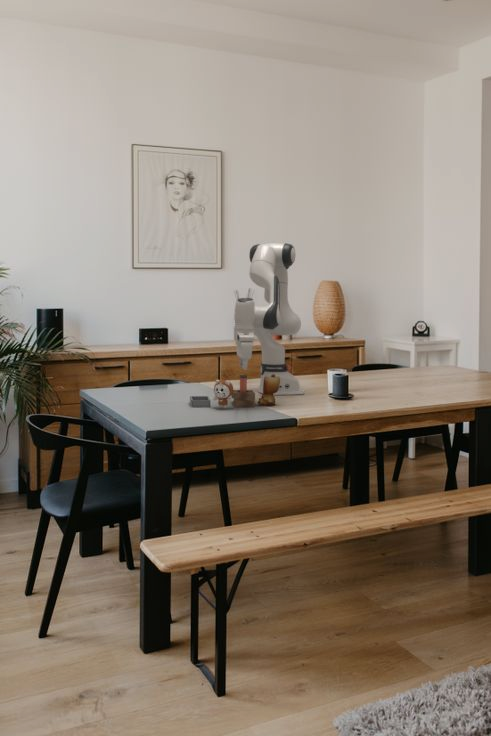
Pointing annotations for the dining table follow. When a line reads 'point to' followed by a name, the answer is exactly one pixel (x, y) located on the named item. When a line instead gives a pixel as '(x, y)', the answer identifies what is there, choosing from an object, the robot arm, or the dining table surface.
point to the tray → (199, 401)
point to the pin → (243, 383)
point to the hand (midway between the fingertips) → (243, 368)
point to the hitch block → (243, 398)
